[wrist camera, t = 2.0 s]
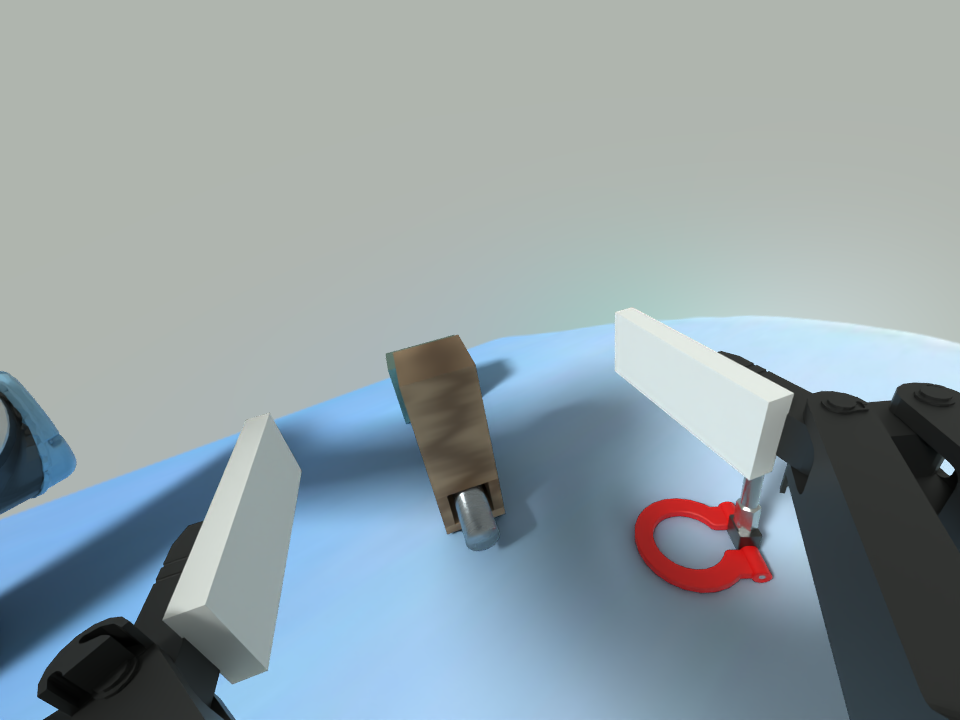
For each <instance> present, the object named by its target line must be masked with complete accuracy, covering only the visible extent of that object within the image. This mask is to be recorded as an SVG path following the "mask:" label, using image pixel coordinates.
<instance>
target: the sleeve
mask: <svg viewBox="0 0 960 720" xmlns="http://www.w3.org/2000/svg"><path fill="white" fill-rule="evenodd" d="M393 356H394V361H395V367H396V372H397V377H398V383H399V388H400V391H401V394H402V397H403V400H404V403H405V406H406V409H407V412H408V415H409V418H410V421H411V424H412V427H413V431H414V434H415V437H416V440H417V443H418V446H419V449H420V452H421V455H422V458H423V461H424V464H425V467H426V470H427V473H428V476H429V479H430V483H431V486H432V489H433V492H434V495H435V498H436V501H437V504H438V507H439V510H440V513H441V516H442V519H443V522H444V525H445V528H446V531H447V534H450V533H453V532H455V531H458V530H461V529H462V527H461V524H460V520H459V517H458V513H457V510H456V506H455V503H454V499H453V496H452V494H454V493H457V492H460V491H463V490H466V489H469V488H471V487H474V486H477V485H480V484H481V485H482V488H483V490H484V493H485V496H486V498H487V501H488V503H489V506H490V509H491V511H492V514H493V516H494V517H497V516H500V515H503V514H505V509H504V504H503V499H502V494H501V489H500V484H499V479H498V474H497V469H496V464H495V459H494V454H493V450H492V445H491V440H490V435H489V430H488V425H487V420H486V415H485V410H484V405H483V400H482V395H481V390H480V385H479V380H478V375H477V370H476V365H475V363H474V361H473V360H472V358H471V356H470V354H469V353H468V351H467V349H466V347H465V346H464V344H463V342H462V341H461V339H460V337H459V335H455V336H451V337H448V338H444V339H440V340H437V341H433V342H430V343H426V344H422V345H419V346H415V347H412V348H408V349H404V350H401V351H397V352H393Z"/></svg>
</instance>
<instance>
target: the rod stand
mask: <svg viewBox="0 0 960 720" xmlns="http://www.w3.org/2000/svg"><path fill="white" fill-rule="evenodd" d="M452 336H454V335H452ZM448 337H451V336H448ZM448 337H445V338H448ZM441 339H444V338H441ZM437 340H440V339H437ZM437 340H434V341H437ZM430 342H433V341H430ZM430 342H427V343H430ZM423 344H426V343H423ZM419 345H422V344H419ZM419 345H416V346H419ZM412 347H415V346H412ZM412 347H408V348H412ZM408 348H405V349H408ZM401 350H404V349H401ZM401 350H398V351H401ZM394 352H397V351H394ZM386 360H387V366H388V372H389V374H390V378H391V380H392V383H393V386H394V389H395V392H396V395H397V398H398V401H399V404H400V407H401V410H402V413H403V416H404V419H405V422H406V424H408V423H411V421H410V418H409V415H408V412H407V409H406V406H405V403H404V400H403V397H402V394H401V391H400V388H399V383H398V377H397V372H396V367H395V361H394V356H393V352H390V353H387V354H386ZM452 496H453V499H454V503H455V506H456V510H457V513H458V517H459V520H460V524H461V527H462V531H463V534H464V538H465V541H466V545H467V547H468V548H469V549H470V550H473V551H482V550H486V549H488V548H490V547H492V546H493V545H494V544H495V543H496V542H497V541H498V539H499V537H500V532H499V530H498V527H497V524H496V522H495V519H494V516H493V514H492V511H491V509H490V506H489V503H488V501H487V498H486V496H485V493H484V490H483V488H482V485H481V484H480V485H477V486H474V487H471V488H469V489H466V490H463V491H460V492H457V493H454V494H452Z"/></svg>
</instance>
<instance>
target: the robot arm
mask: <svg viewBox="0 0 960 720" xmlns="http://www.w3.org/2000/svg"><path fill="white" fill-rule="evenodd" d="M615 372H617V373H618V374H619V375H620V376H621V377H623V378H624V379H625V380H626V381H628V382H629V383H630V384H631V385H633V386H634V387H635V388H636V389H637V390H639V391H640V392H641V393H642V394H644V395H645V396H646V397H647V398H649V399H650V400H651V401H652V402H653V403H655V404H656V405H657V406H658V407H660V408H661V409H662V410H663V411H664V412H666V413H667V414H668V415H669V416H671V417H672V418H673V419H674V420H676V421H677V422H678V423H679V424H680V425H682V426H683V427H684V428H685V429H687V430H688V431H689V432H690V433H692V434H693V435H694V436H695V437H696V438H698V439H699V440H700V441H701V442H703V443H704V444H705V445H706V446H708V447H709V448H710V449H711V450H712V451H714V452H715V453H716V454H717V455H719V456H720V457H721V458H722V459H724V460H725V461H726V462H727V463H728V464H730V465H731V466H732V467H733V468H735V469H736V470H737V471H738V472H740V473H741V474H742V475H743V476H744V477H746V478H747V479H748V480H749V481H750V480H752V479H755V478H757V477H760V476H762V475H765V474H767V473H770V472H772V469H773V466H774V462H775V459H776V455H777V456H778V457H780V458H781V459H783V460H784V461H785V462H787V467H786V470H785V473H784V476H783V480H782V483H781V486H780V493H785V491H786V488H787V486H789V488H790V492H791V496H792V500H793V504H794V507H795V511H796V515H797V519H798V523H799V527H800V530H801V534H802V538H803V542H804V546H805V550H806V553H807V557H808V561H809V565H810V569H811V573H812V576H813V580H814V584H815V588H816V592H817V596H818V599H819V603H820V607H821V611H822V615H823V619H824V623H825V626H826V630H827V634H828V638H829V642H830V646H831V649H832V653H833V657H834V661H835V665H836V669H837V672H838V676H839V680H840V684H841V688H842V692H843V695H844V699H845V703H846V707H847V711H848V715H849V718H850V720H960V393H959V392H957V391H955V390H952V389H949V388H946V387H944V386H941V385H936V384H935V385H934V384H930V383H907V384H902V385H901V386H899V387H897V389H896V391H895V394H894V396H893V398H892V400H891V401H879V402H865V401H863V400H862V399H860V398H858V397H855V396H852V395H849V394H846V393H840V392H834V391H821V392H817V393H811V392H809V391H807V390H805V389H803V388H801V387H799V386H797V385H795V384H793V383H791V382H789V381H787V380H785V379H783V378H781V377H779V376H777V375H775V374H773V373H772V372H770V371H768V372H767V371H766V369H764V368H762V367H760V366H758V365H754V363H752V362H750V361H748V360H746V359H744V358H742V357H740V356H737V355H734V354H730V353H726V352H723V351H720V352H716V351H714V350H712V349H710V348H708V347H706V346H704V345H702V344H701V343H699V342H697V341H695V340H693V339H691V338H689V337H687V336H686V335H684V334H682V333H680V332H678V331H676V330H674V329H672V328H671V327H669V326H667V325H665V324H663V323H661V322H659V321H657V320H655V319H654V318H652V317H650V316H648V315H646V314H644V313H642V312H640V311H639V310H637V309H635V308H633V307H631V308H628V309H625V310H621V311H618V312H615ZM944 459H946V460H947V461H948V462H949V463H950V464H951V465H952V466H953V467H954V469H955V471H954V472H953V474H952V475H951V476H949V475H948V474H946V473H945V472H944V471H943V470H942V469H941V468H940V466H941V464H942V463H943V461H944ZM75 467H76V458H75V456H74V454H73V452H72V450H71V448H70V447H69V445H68V444H67V443H66V441H65V440H64V438H63V437H62V436H61V435H59V432H58V430H57V429H56V427H55V425H54V424H53V423H52V421H51V420H50V418H49V417H48V416H47V414H46V413H45V412H44V410H43V409H42V408H41V407H40V405H39V404H38V403H37V402H36V401H35V399H34V398H33V397H32V396H31V395H30V393H29V392H28V391H27V390H26V389H25V388H24V387H23V385H22V384H21V383H20V382H19V381H18V380H17V379H16V378H14V377H13V376H11V375H10V374H8V373H7V372H4V371H0V514H2V513H4V512H6V511H8V510H10V509H11V508H13V507H15V506H17V505H18V504H21V503H23V502H24V501H26V500H28V499H30V498H36V497H37V496H39V495H42V494H44V493H45V492H46V491H47V489H48V488H49V487H51V486H53V485H55V484H56V483H58V482H60V481H62V480H63V479H65V478H67V477H68V476H69V475H70V474H71V473H72V472H73V471H74V470H75ZM301 472H302V471H301V469H300V467H299V465H298V463H297V462H296V460H295V458H294V456H293V454H292V453H291V451H290V449H289V447H288V445H287V443H286V442H285V440H284V438H283V436H282V434H281V433H280V431H279V429H278V427H277V425H276V424H275V422H274V420H273V418H272V416H271V415H270V413H268V414H264V415H261V416H257V417H254V418H251V419H247V420H246V421H245V423H244V426H243V428H242V431H241V433H240V435H239V438H238V440H237V443H236V445H235V447H234V450H233V452H232V454H231V457H230V459H229V462H228V464H227V466H226V469H225V471H224V474H223V476H222V478H221V481H220V483H219V486H218V488H217V490H216V493H215V495H214V498H213V500H212V502H211V505H210V507H209V510H208V512H207V514H206V517H205V519H204V521H201V522H198V523H195V524H192V525H189V526H188V527H187V528H186V529H185V530H184V531H183V533H182V534H181V535H180V536H179V537H178V539H177V540H176V541H175V542H174V543H173V545H172V546H171V549H170V551H169V553H168V555H167V557H166V559H165V561H164V563H163V565H164V567H162V568H161V570H160V572H159V574H158V576H157V578H156V583H155V584H153V587H152V589H151V591H150V593H149V595H148V597H147V599H146V601H145V603H144V606H143V608H142V610H141V612H140V614H139V616H138V618H137V620H136V622H135V625H133V624H132V623H131V622H130V621H128V620H126V619H125V618H123V617H114V618H108V619H106V620H104V621H101V622H99V623H97V624H94V625H93V626H91V627H90V628H88V629H87V630H85V631H84V632H82V633H81V634H79V635H78V636H76V637H75V638H74V639H73V640H72V641H71V642H70V643H69V644H68V645H66V646H65V647H64V648H63V649H62V650H61V651H60V652H59V653H58V654H57V656H56V657H55V658H54V659H53V661H52V662H51V663H50V664H49V666H48V667H47V668H46V670H45V672H44V674H43V676H42V678H41V680H40V682H39V684H38V692H37V697H38V698H40V699H42V700H43V701H45V702H47V703H48V704H50V705H52V706H54V707H55V708H57V709H59V710H58V711H56V712H54V713H53V714H51V715H50V716H48V717H47V718H45V719H43V720H235V718H234V717H233V715H232V714H231V713H230V711H229V710H228V709H227V707H226V706H225V704H224V703H223V702H222V700H221V699H220V698H219V697H218V696H217V695H215V694H214V692H215V688H216V685H217V681H218V677H219V673H221V674H222V675H223V676H224V677H225V678H226V679H227V680H228V681H229V682H230V683H231V684H235V683H237V682H240V681H242V680H245V679H247V678H250V677H252V676H255V675H258V674H260V673H263V672H265V671H268V666H269V660H270V654H271V648H272V643H273V637H274V631H275V625H276V619H277V613H278V607H279V601H280V596H281V590H282V584H283V578H284V572H285V566H286V560H287V554H288V549H289V543H290V537H291V531H292V525H293V519H294V513H295V507H296V502H297V496H298V490H299V484H300V478H301Z"/></svg>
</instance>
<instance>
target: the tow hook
mask: <svg viewBox="0 0 960 720" xmlns="http://www.w3.org/2000/svg"><path fill="white" fill-rule="evenodd" d="M763 480H764V475H762V476H760V477H757V478H755V479H752V480H750V481H749V480H748V479H747V478H746V477H744V480H743V486H742V492H741V498H739V499H738V500H737V501H736V506H735V505H734V504H733V503H732V502H723V503H721V504H719V506H718V507H709V506H707V505H705V504H702V503H699V502H695V501H692V500H687V499H678V498H675V499H664V500H661V501H658V502H655V503H653V504H651V505H649V506H648V507H646V508H645V509H644V510H643V511H642V512H641V514H640V515H639V516H638V519H637V522H636V524H635V542H636V545H637V549H638V552H639V554H640V555H641V557H642V559H643V560H644V562H645V563H646V565H647V566H648V567H649V568H650V569H651V570H652V571H653V572H654V573H655V574H656V575H658V576H659V577H661V578H662V579H664V580H665V581H667V582H668V583H670V584H672V585H674V586H677V587H679V588H682V589H684V590H689V591H694V592H699V593H708V592H718V591H721V590H724V589H727V588H730V587H731V586H732V585H733V584H735V583H736V582H737V581H739V579H750V578H752V579H753V581H755V582H758V583H764V582H768V581H770V580H771V579H772V574H771V572H770V571H769V569H768V567H767V565H766V563H765V561H764V559H763V557H762V556H761V554H760V552H759V547H760V542H761V538H762V535H761V533H760V531H759V529H758V523H759V520H760V515H761V510H762V508H761V506H760V504H759V500H760V495H761V490H762V485H763ZM674 516H684V517H690V518H693V519H696V520H699V521H700V522H702V523H704V524H706V525H707V526H709V527H710V528H711V529H714V530H727V531H728V534H729V536H730V538H731V540H732V542H733V544H734V546H735V548H736V550H727V551H725V553H724V556H723V558H722V560H721V561H720V562H719V563H718V564H716V565H715V566H713V567H710V568H707V569H697V570H696V569H690V568H685V567H683V566H680V565H678V564H675V563H674V562H672V561H671V560H669V559H668V558H667V557H665V556H664V555H663V554H662V553H661V552H660V550H659V549H658V547H657V546H656V544H655V541H654V538H653V532H654V529H655V527H656V526H657V525H658V523H659V522H661V521H662V520H664V519H666V518H669V517H674Z"/></svg>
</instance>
